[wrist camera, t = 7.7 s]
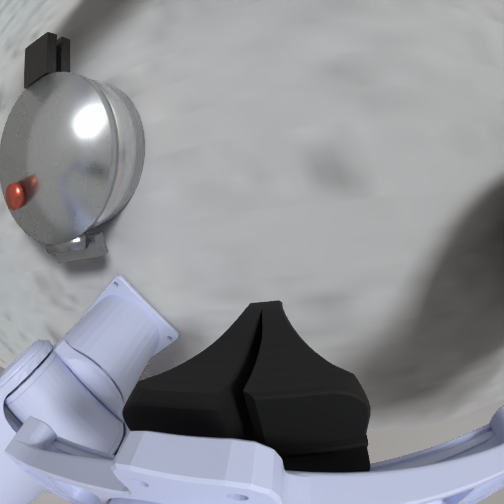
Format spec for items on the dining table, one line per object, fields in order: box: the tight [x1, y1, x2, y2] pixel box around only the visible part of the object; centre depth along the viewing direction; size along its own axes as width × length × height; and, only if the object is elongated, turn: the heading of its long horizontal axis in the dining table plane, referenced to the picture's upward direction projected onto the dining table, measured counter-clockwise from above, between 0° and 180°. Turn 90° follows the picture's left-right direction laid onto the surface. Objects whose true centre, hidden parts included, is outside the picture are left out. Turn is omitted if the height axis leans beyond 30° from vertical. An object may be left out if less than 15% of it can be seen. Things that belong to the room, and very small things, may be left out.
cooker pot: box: [56, 37, 145, 263], centre depth 18 cm, size 19×13×4 cm
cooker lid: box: [0, 32, 119, 255], centre depth 15 cm, size 18×13×2 cm
